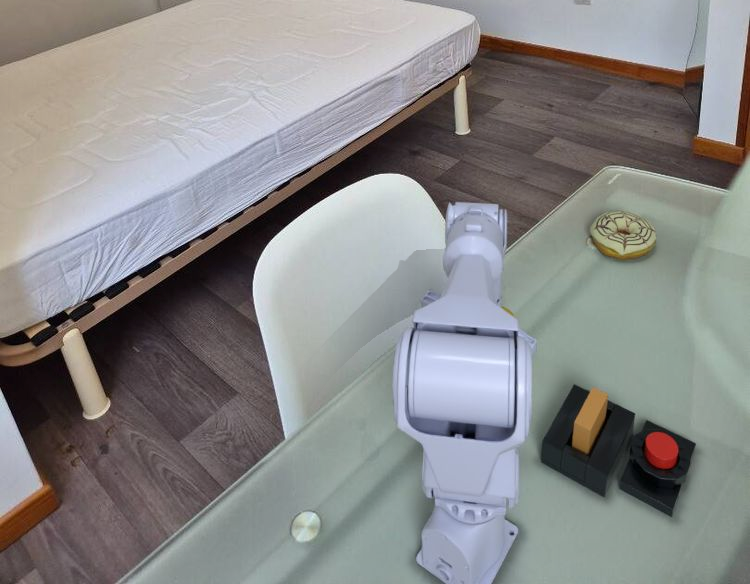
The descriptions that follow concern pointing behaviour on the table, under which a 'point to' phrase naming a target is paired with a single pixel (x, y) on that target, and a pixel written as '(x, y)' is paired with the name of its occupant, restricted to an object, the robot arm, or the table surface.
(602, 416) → the toast
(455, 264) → the robot arm
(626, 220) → the decorated donut
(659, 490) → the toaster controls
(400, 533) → the table surface
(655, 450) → the button
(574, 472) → the toaster
